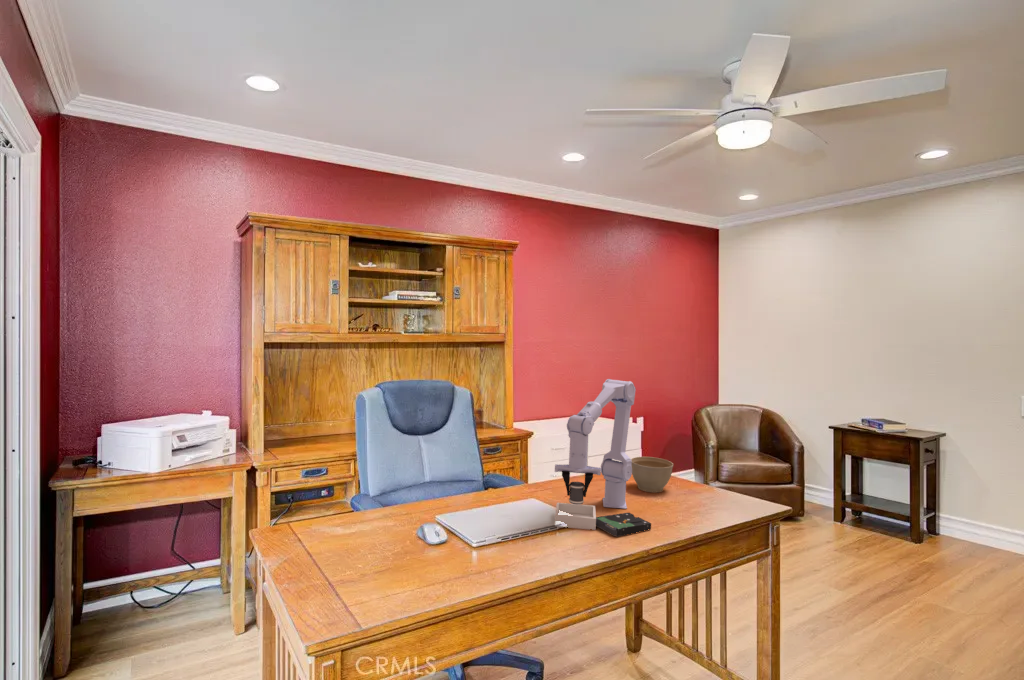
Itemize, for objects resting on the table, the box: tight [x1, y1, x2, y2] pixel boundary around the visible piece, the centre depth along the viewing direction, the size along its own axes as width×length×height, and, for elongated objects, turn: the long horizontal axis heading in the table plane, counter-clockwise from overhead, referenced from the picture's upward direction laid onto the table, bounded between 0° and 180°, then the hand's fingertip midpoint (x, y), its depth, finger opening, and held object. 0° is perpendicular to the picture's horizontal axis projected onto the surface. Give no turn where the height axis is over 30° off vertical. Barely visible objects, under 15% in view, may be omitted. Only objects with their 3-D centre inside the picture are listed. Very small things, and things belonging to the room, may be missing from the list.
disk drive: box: [596, 512, 652, 537], centre depth 176 cm, size 10×3×15 cm
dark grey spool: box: [568, 481, 585, 505], centre depth 180 cm, size 5×5×6 cm
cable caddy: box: [554, 502, 597, 531], centre depth 180 cm, size 13×13×4 cm
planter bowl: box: [630, 456, 674, 494], centre depth 219 cm, size 16×16×11 cm
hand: (576, 495), depth 180 cm, fingers closed on dark grey spool, 4 cm apart
